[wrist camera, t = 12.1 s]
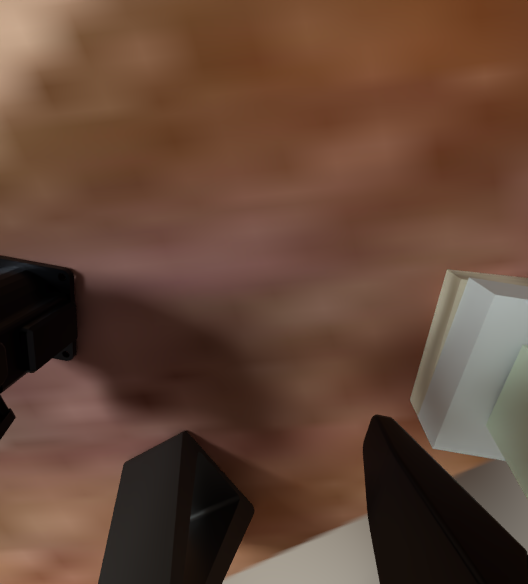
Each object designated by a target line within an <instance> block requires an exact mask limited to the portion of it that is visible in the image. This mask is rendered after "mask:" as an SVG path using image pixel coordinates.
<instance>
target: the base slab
mask: <svg viewBox="0 0 528 584" xmlns="http://www.w3.org/2000/svg"><path fill="white" fill-rule="evenodd" d="M469 277H470V278H477V279H483V280H489V281H496V282H502V283H509V284H515V285H521V286H528V278H523V277H513V276H504V275H495V274H485V273H476V272H467V271H457V270H448V269H447V272H446V275H445V279H444V282H443V286H442V289H441V293H440V296H439V300H438V303H437V307H436V310H435V314H434V317H433V321H432V324H431V328H430V331H429V335H428V338H427V342H426V345H425V349H424V352H423V356H422V359H421V363H420V366H419V370H418V373H417V377H416V380H415V384H414V387H413V391H412V394H411V398H410V401H411V404H412V406H413V408H414V410H415V412H416V414H417V416H418V414H419V412H420V409H421V406H422V403H423V401H424V398H425V395H426V393H427V390H428V387H429V384H430V382H431V379H432V376H433V374H434V371H435V368H436V365H437V363H438V360H439V357H440V355H441V352H442V349H443V346H444V344H445V341H446V338H447V336H448V333H449V330H450V327H451V325H452V322H453V319H454V317H455V314H456V311H457V309H458V306H459V303H460V300H461V298H462V295H463V292H464V290H465V287H466V284H467V281H468V279H469Z"/></svg>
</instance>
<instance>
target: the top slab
mask: <svg viewBox="0 0 528 584" xmlns="http://www.w3.org/2000/svg"><path fill="white" fill-rule="evenodd" d="M522 345H528V286H521V285H515V284H509V283H502V282H496V281H489V280H483V279H477V278H470V277H469V279H468V281H467V284H466V287H465V290H464V292H463V295H462V298H461V300H460V303H459V306H458V309H457V311H456V314H455V317H454V319H453V322H452V325H451V327H450V330H449V333H448V336H447V338H446V341H445V344H444V346H443V349H442V352H441V355H440V357H439V360H438V363H437V365H436V368H435V371H434V374H433V376H432V379H431V382H430V384H429V387H428V390H427V393H426V395H425V398H424V401H423V403H422V406H421V409H420V412H419V414H418V419H419V421H420V423H421V425H422V427H423V429H424V432H425V434H426V436H427V438H428V440H429V442H430V444H431V446H432V448H433V449H438V450H444V451H450V452H456V453H462V454H467V455H473V456H479V457H485V458H491V459H497V460H503V461H506V460H505V459H504V457H503V455H502V453H501V451H500V450H499V448H498V446H497V444H496V443H495V441H494V439H493V437H492V435H491V434H490V432H489V430H488V428H487V427H486V424H487V421H488V419H489V417H490V415H491V413H492V410H493V408H494V406H495V404H496V402H497V400H498V397H499V395H500V393H501V391H502V389H503V386H504V384H505V382H506V380H507V378H508V376H509V373H510V371H511V369H512V367H513V365H514V363H515V360H516V358H517V356H518V354H519V352H520V350H521V347H522Z"/></svg>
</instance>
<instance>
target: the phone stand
mask: <svg viewBox="0 0 528 584" xmlns="http://www.w3.org/2000/svg"><path fill="white" fill-rule="evenodd" d="M253 514H254V507H253V505H252V504H251V503H250V502H249V501H248V500H247V498H246V497H245V496H244V495H243V494H242V493H241V492H240V491H239V489H238V488H237V487H236V486H235V485H234V484H233V483H232V482H231V480H230V479H229V478H228V477H227V476H226V475H225V474H224V473H223V472H220V468H219V467H218V466H217V465H216V464H215V462H214V461H213V460H212V459H211V458H210V457H209V456H208V455H207V454H206V452H205V451H204V450H203V449H202V448H201V447H200V446H199V445H198V443H197V442H196V441H195V440H194V439H193V438H192V437H191V436H190V434H189V433H188V432H187V431H184V432H182V433H180V434H178V435H176V436H174V437H172V438H170V439H168V440H167V441H165V442H163V443H161V444H159V445H157V446H155V447H153V448H151V449H149V450H148V451H146V452H144V453H142V454H140V455H138V456H136V457H134V458H132V459H131V460H129V461H127V462H125V463H124V465H123V470H122V475H121V479H120V484H119V489H118V493H117V498H116V503H115V507H114V512H113V517H112V521H111V526H110V530H109V535H108V540H107V544H106V549H105V554H104V558H103V563H102V568H101V572H100V577H99V582H98V584H222V582H223V580H224V578H225V576H226V574H227V571H228V569H229V567H230V565H231V563H232V560H233V558H234V556H235V554H236V552H237V549H238V547H239V545H240V543H241V541H242V538H243V536H244V534H245V532H246V530H247V528H248V525H249V523H250V521H251V519H252V517H253Z"/></svg>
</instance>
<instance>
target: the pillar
mask: <svg viewBox="0 0 528 584" xmlns="http://www.w3.org/2000/svg"><path fill="white" fill-rule="evenodd" d="M486 427H487V428H488V430H489V432H490V434H491V435H492V437H493V439H494V441H495V443H496V444H497V446H498V448H499V450H500V451H501V453H502V455H503V457H504V459H505V460H506V462H507V464H508V465H509V468H510V469H511V471H512V473H513V475H514V476H515V478H516V480H517V482H518V484H519V485H520V487H521V489H522V491H523V492H524V494H525V496H526V498H527V500H528V345H522V347H521V350H520V352H519V354H518V356H517V358H516V360H515V363H514V365H513V367H512V369H511V371H510V373H509V376H508V378H507V380H506V382H505V384H504V386H503V389H502V391H501V393H500V395H499V397H498V400H497V402H496V404H495V406H494V408H493V410H492V413H491V415H490V417H489V419H488V421H487V424H486Z"/></svg>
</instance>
